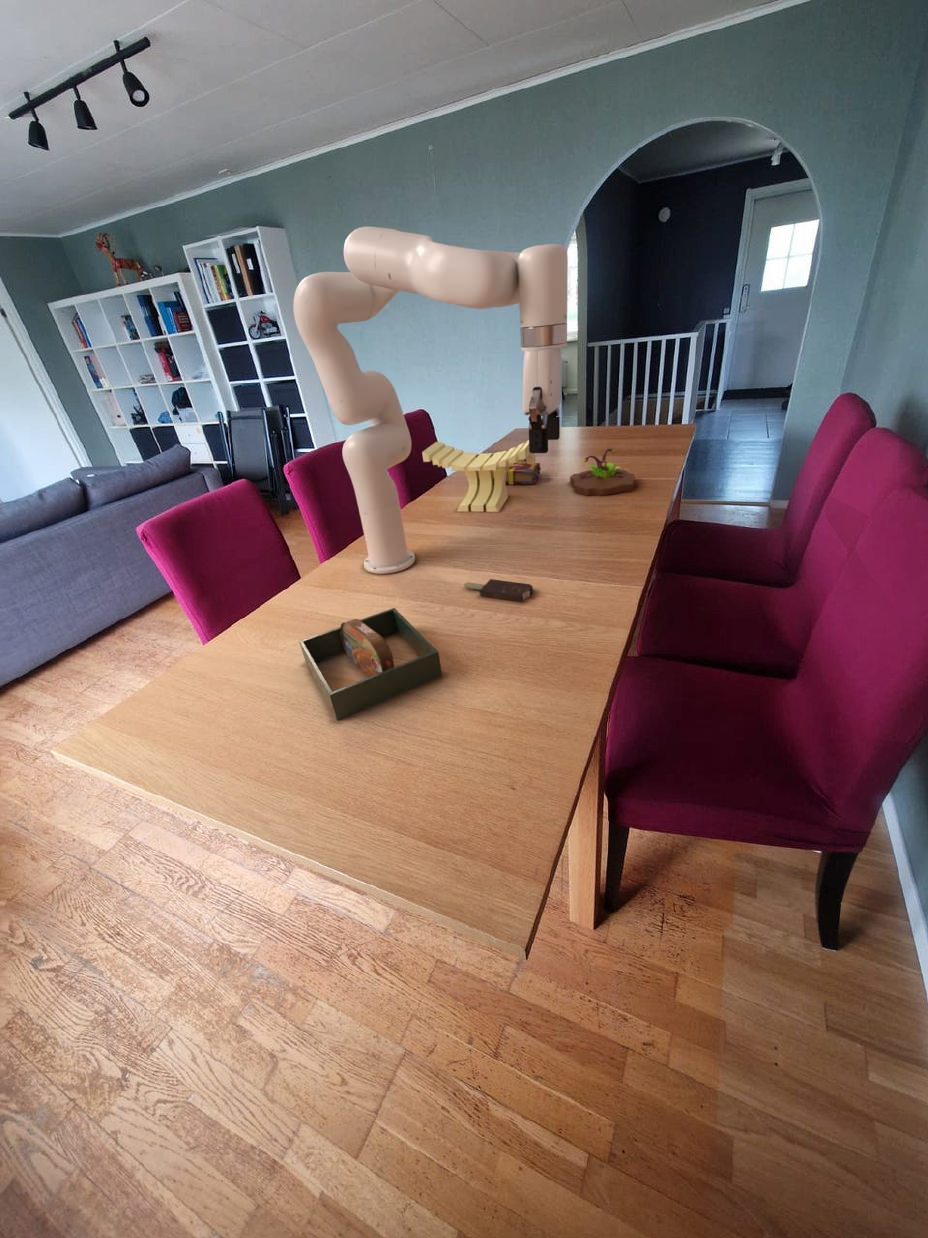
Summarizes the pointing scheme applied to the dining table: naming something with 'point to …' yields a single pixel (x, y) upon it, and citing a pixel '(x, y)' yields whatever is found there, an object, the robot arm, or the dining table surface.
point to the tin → (366, 648)
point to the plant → (603, 478)
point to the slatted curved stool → (480, 472)
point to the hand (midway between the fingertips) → (545, 445)
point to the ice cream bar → (503, 590)
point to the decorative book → (523, 473)
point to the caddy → (381, 683)
